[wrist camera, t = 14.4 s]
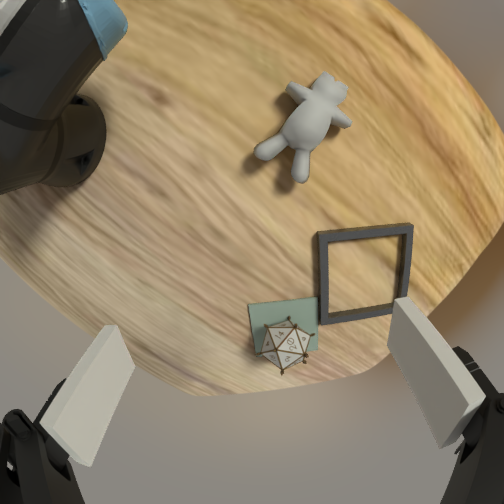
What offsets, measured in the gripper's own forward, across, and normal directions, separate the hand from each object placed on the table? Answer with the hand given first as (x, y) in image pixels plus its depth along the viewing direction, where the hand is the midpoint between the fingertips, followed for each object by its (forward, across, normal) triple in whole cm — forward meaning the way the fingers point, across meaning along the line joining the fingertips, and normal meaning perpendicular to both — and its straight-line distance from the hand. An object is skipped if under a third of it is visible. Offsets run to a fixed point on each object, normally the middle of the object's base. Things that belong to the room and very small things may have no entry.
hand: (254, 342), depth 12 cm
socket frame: (+29, +16, -12) cm, 35 cm away
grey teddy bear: (+29, +8, +11) cm, 32 cm away
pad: (+29, +2, -20) cm, 35 cm away
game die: (+28, +2, -20) cm, 35 cm away
